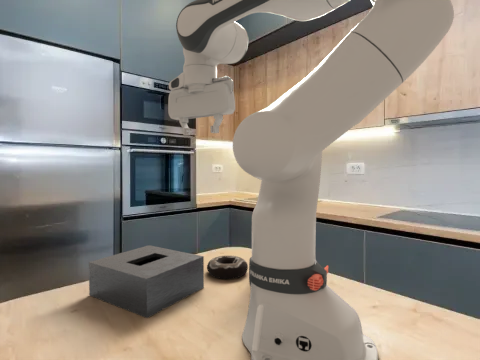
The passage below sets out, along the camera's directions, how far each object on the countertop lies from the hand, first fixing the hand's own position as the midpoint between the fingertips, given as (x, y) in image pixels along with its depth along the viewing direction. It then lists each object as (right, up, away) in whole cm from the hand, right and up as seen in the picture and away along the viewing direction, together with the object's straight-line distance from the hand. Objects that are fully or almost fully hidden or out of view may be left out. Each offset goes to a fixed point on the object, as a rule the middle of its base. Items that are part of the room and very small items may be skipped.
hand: (200, 134), depth 79 cm
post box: (-12, -39, -6) cm, 42 cm away
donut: (+7, -39, +7) cm, 40 cm away
